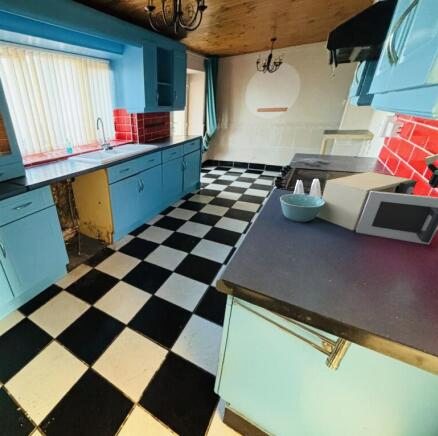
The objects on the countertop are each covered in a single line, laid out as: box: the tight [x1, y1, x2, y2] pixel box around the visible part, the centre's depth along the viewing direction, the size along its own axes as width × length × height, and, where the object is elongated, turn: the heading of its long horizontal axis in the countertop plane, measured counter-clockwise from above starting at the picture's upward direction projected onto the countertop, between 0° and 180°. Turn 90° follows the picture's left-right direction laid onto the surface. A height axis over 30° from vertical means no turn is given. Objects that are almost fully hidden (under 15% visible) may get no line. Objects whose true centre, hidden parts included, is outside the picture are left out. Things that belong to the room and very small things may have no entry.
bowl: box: [279, 193, 325, 223], centre depth 99 cm, size 16×16×8 cm
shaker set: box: [293, 178, 322, 199], centre depth 116 cm, size 12×4×11 cm, turn 60°
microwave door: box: [355, 191, 438, 245], centre depth 77 cm, size 7×19×16 cm, turn 57°
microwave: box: [316, 171, 418, 231], centre depth 94 cm, size 16×26×16 cm, turn 110°
